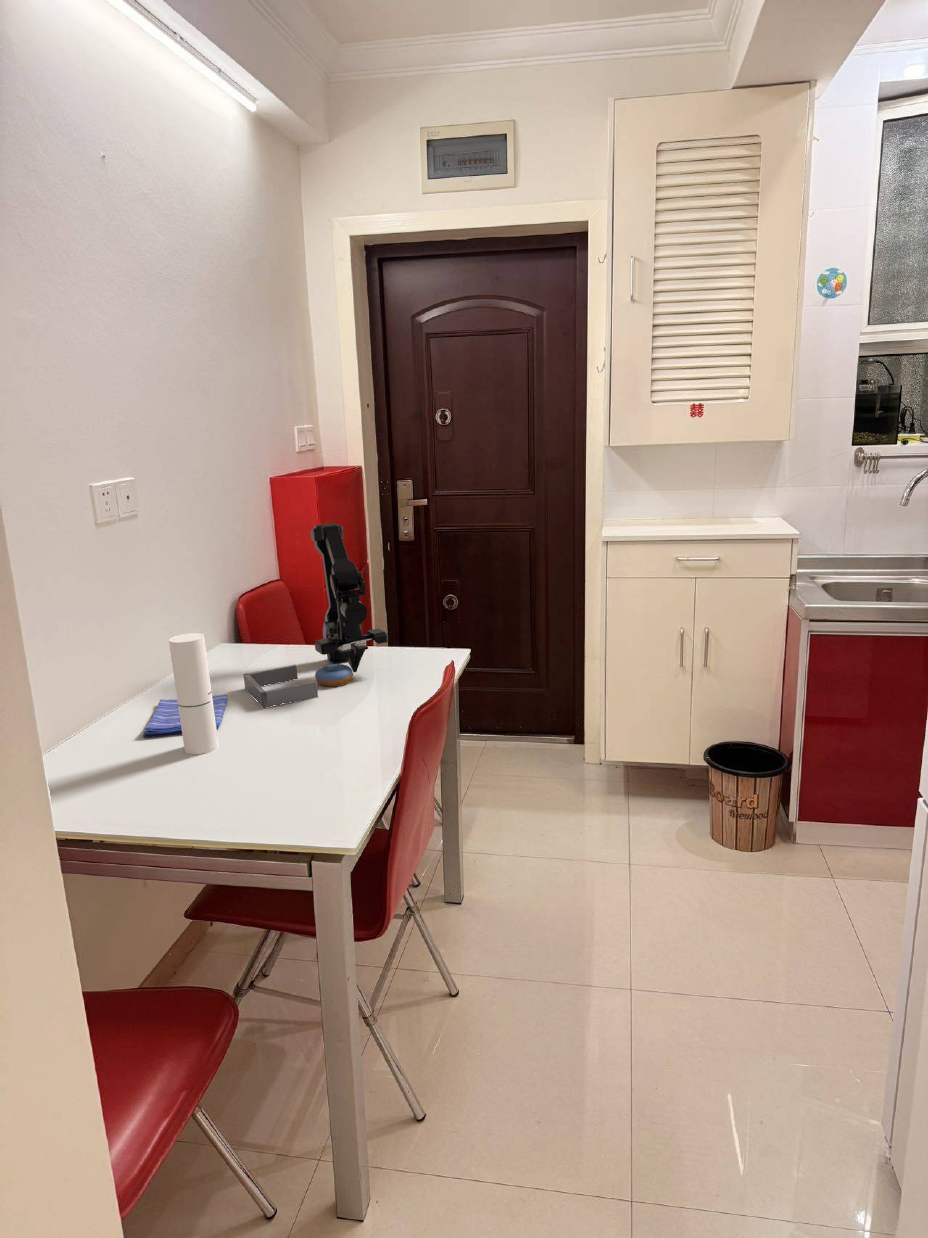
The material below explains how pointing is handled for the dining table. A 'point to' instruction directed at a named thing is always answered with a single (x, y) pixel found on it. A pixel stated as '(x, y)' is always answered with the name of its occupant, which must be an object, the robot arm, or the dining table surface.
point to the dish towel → (178, 717)
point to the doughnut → (334, 675)
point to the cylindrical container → (194, 693)
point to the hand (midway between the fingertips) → (354, 672)
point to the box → (280, 694)
